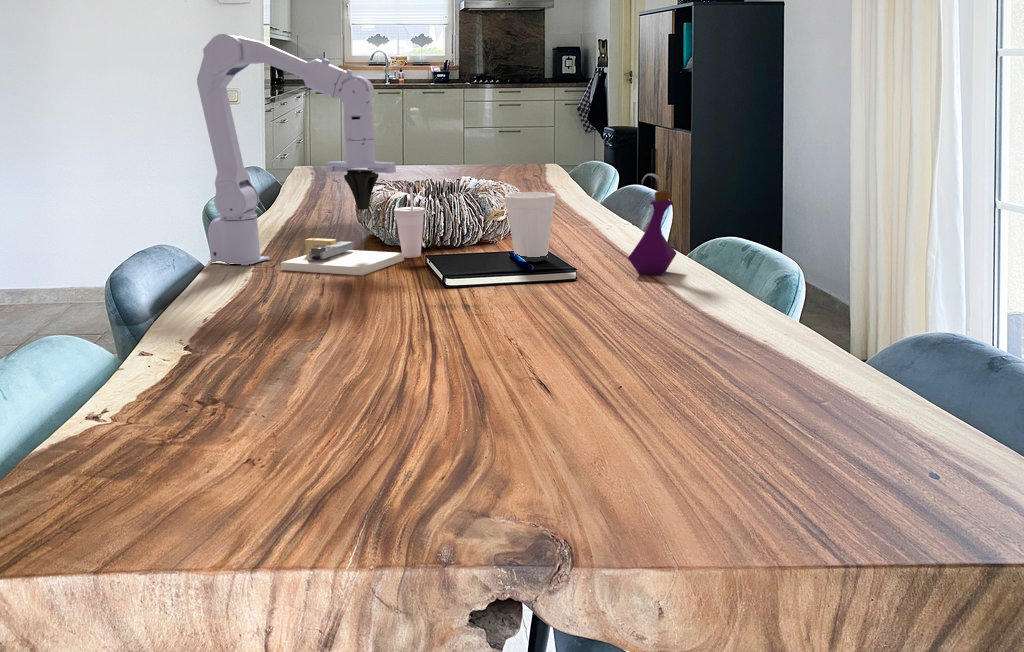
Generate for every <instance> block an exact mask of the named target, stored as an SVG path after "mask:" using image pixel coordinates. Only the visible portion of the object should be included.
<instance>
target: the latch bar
mask: <svg viewBox="0 0 1024 652" xmlns="http://www.w3.org/2000/svg"><path fill="white" fill-rule="evenodd" d="M348 250H354V242H353V241H341V240H340V241H337V244H335V245H331V246H330V245H323V246H319V247H313V248H311V251H309V258H312V259H325V258H328V257H330V256H333V255H336V254H339V253H342V252H345V251H348Z"/></svg>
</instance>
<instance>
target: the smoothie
mask: <svg viewBox="0 0 1024 652" xmlns="http://www.w3.org/2000/svg"><path fill="white" fill-rule="evenodd" d="M413 191H414V190H413V186H409V202H410V206H405V207H404V206H403V207H398V208H394V209H393V215H394V216H395V219H396V226H397V231H398V238H399V244H400V249H401V253H404V258H407V259H408V258H409V259H410V258H419V257H421V255H422V241H423V233H424V232H423V229H424V218H425V217H424V216H425V214H426V208H425V207H421V206H414V192H413Z"/></svg>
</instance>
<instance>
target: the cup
mask: <svg viewBox="0 0 1024 652" xmlns="http://www.w3.org/2000/svg"><path fill="white" fill-rule="evenodd" d="M504 199H505V200H504V201H505V202H504V203H505V206H506V210H507V216H508V223H509V229H510V233H511V234H510V235H511V241H512V246H513V253H515V254H518V255H520V256H527V257H540V256H546V255H547V254H549V246H550V238H551V230H552V222H553V214H554V208H555V206H556V199H557V194H555V193H553V192H544V191H523V192H520V191H519V192H512V193H507V194H505V195H504ZM515 254H514V255H515Z"/></svg>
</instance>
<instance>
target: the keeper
mask: <svg viewBox="0 0 1024 652" xmlns="http://www.w3.org/2000/svg"><path fill="white" fill-rule="evenodd" d="M337 242H338V241H337V239H336V238H335V239H333V238H319V237H318V238H317V237H316V238H315V237H310V238H305V239H304V244H305V255H306V256H309V251H311V248H313V247H320V246H327V245H330V246H331V245H335V244H337Z"/></svg>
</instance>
